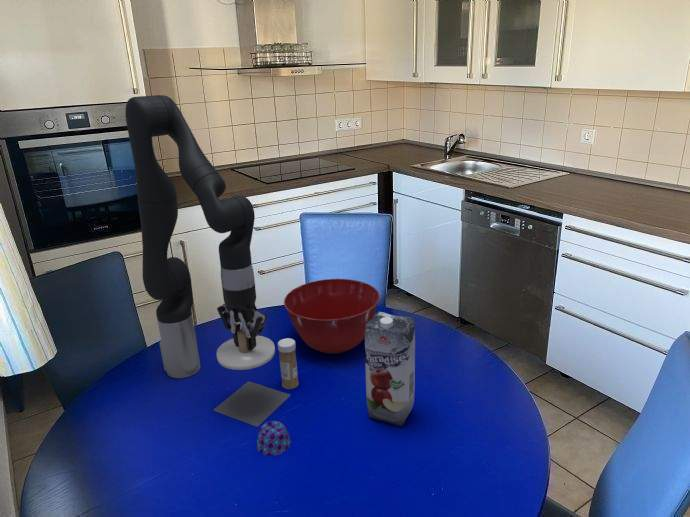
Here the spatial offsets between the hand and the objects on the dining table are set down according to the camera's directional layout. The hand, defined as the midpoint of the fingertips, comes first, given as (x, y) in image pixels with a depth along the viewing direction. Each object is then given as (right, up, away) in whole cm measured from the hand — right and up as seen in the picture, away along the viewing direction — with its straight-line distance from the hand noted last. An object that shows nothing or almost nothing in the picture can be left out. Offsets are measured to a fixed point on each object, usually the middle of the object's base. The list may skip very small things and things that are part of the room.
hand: (245, 346), depth 130 cm
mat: (+1, -16, +6) cm, 17 cm away
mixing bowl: (+21, -4, +34) cm, 40 cm away
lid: (0, -2, +1) cm, 2 cm away
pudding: (+8, -22, -8) cm, 25 cm away
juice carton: (+35, -17, +1) cm, 39 cm away
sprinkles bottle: (+10, -13, +13) cm, 21 cm away
